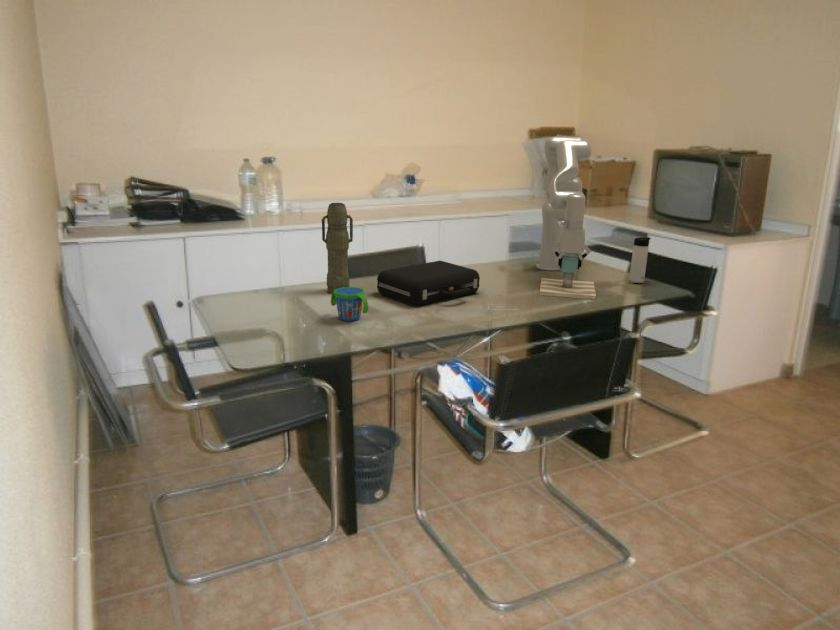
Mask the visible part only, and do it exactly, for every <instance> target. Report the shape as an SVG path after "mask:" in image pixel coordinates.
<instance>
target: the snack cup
mask: <svg viewBox="0 0 840 630" xmlns="http://www.w3.org/2000/svg"><path fill="white" fill-rule="evenodd" d="M330 304H331V306H336V310H337V313H338V314H337V315H338V319H339V320H341V321H346V322H352V321H357V320H360V318H361V316H362V315H361V313H363V314H367V313H368V311H369V302H368V300H367V296H366V295H365V289H363V288H362V287H361V288H360V287H357V286H355V287H354V286H349V287H342V288H338V289H336V290H334V291H333V293H332V294H331V298H330ZM362 308H363V309H362Z"/></svg>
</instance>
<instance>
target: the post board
mask: <svg viewBox="0 0 840 630" xmlns="http://www.w3.org/2000/svg"><path fill="white" fill-rule="evenodd" d="M574 274H575V273H567V272H563V275H562V276H563V277H562V278H563V279H558V278H557V279H556V278H543V277H542V278H541V280H540V287H539V296H545V297H560V298H574V299H584V300H596V297H597V295H596V294H597V293H596V289H595V288H596V287H595V283H594V281H587V280H586V281H583V280H574Z"/></svg>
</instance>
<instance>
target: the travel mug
mask: <svg viewBox="0 0 840 630" xmlns="http://www.w3.org/2000/svg"><path fill="white" fill-rule="evenodd" d="M650 240H651V237H650V236H648V237H646V236H644V237H641V236H640V237H635V238H634V240H633V248H632V254H631V262H630V263H631V264H630V270H629V278H628V282H629V281H630V282H632V283H631V284H633V283H643V284H645V277H646V276H645V275H646V270H647V261H648V254H649V247H650V246H649V244H650ZM630 282H629V283H630Z"/></svg>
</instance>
